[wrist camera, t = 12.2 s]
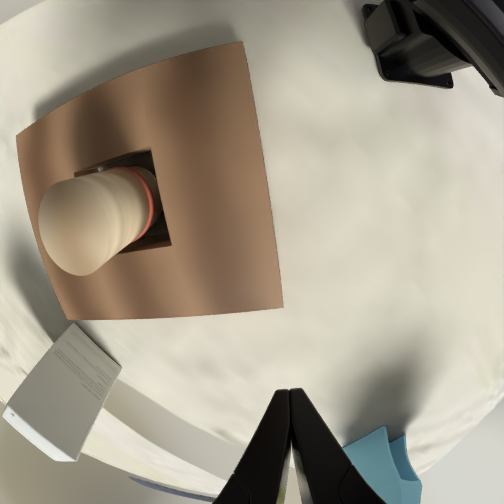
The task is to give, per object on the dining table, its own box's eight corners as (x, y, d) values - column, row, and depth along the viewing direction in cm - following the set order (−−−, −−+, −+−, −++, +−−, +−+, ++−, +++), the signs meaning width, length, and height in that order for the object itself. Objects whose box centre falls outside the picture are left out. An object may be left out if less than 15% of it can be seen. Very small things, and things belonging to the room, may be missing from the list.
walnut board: (246, 58, 14) (242, 41, 11) (281, 285, 20) (283, 307, 17) (39, 133, 16) (15, 135, 13) (84, 302, 21) (67, 319, 19)
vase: (336, 450, 29) (350, 568, 10) (383, 425, 27) (413, 551, 8) (364, 458, 31) (381, 558, 12) (405, 435, 28) (435, 539, 10)
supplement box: (53, 344, 24) (-1, 414, 13) (74, 319, 22) (5, 404, 11) (96, 386, 26) (55, 462, 15) (125, 369, 24) (77, 464, 13)
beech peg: (163, 156, 17) (95, 165, 9) (175, 224, 18) (122, 274, 11) (105, 171, 17) (29, 192, 10) (119, 233, 19) (53, 280, 11)
